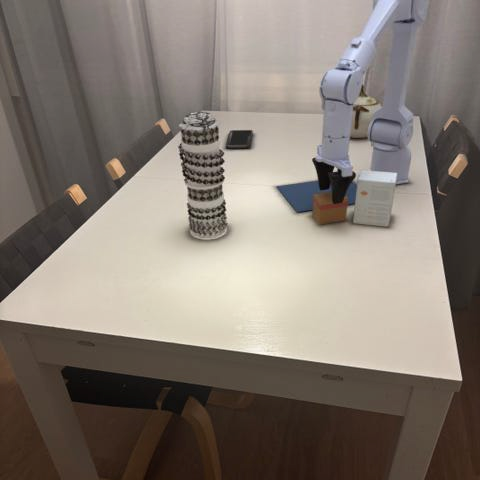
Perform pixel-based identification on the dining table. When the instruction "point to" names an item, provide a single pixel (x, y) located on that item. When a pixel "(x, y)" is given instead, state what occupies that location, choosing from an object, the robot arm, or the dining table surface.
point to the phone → (239, 139)
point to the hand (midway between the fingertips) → (330, 196)
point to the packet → (328, 209)
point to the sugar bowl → (362, 114)
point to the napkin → (310, 194)
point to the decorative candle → (203, 175)
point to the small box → (374, 198)
